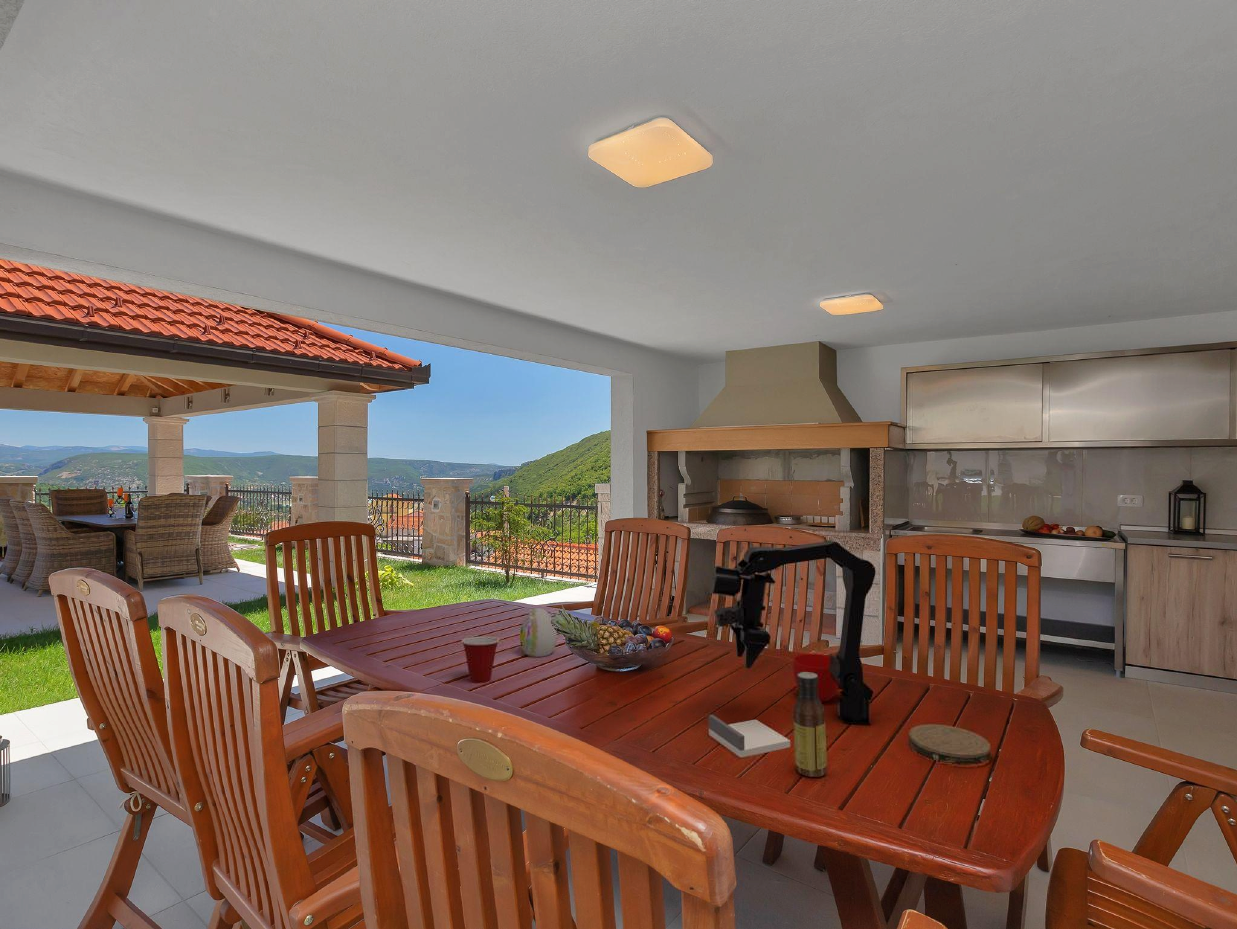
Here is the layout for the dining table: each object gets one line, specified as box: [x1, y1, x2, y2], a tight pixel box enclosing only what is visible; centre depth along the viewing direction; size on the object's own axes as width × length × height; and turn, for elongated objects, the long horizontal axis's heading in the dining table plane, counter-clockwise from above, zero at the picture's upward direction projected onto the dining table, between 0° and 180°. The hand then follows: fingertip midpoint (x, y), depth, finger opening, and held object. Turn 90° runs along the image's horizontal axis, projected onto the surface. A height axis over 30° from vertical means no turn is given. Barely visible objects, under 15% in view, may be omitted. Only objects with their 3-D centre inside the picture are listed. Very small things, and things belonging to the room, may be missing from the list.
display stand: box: [708, 714, 791, 758], centre depth 148 cm, size 13×13×4 cm
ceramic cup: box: [792, 653, 840, 703], centre depth 175 cm, size 13×17×10 cm
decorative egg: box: [519, 607, 558, 658], centre depth 216 cm, size 12×12×15 cm
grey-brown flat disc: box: [908, 723, 991, 765], centre depth 142 cm, size 16×16×3 cm
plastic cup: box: [461, 636, 500, 684], centre depth 190 cm, size 11×11×12 cm
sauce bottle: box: [793, 672, 828, 778], centre depth 133 cm, size 6×6×20 cm
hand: (743, 662), depth 159 cm, fingers open, 9 cm apart
